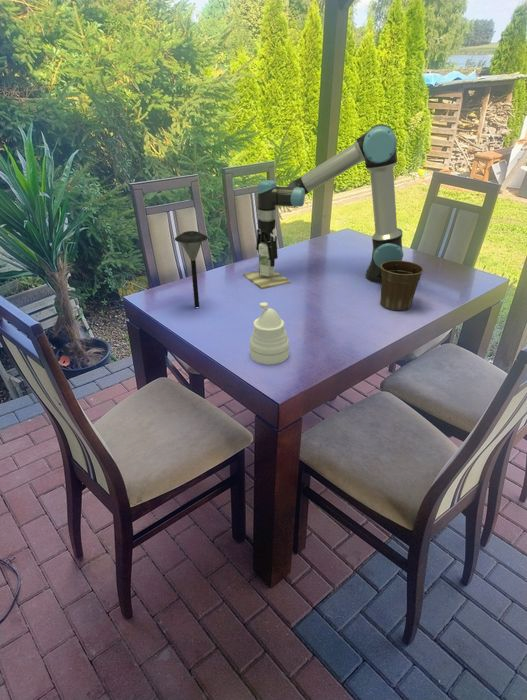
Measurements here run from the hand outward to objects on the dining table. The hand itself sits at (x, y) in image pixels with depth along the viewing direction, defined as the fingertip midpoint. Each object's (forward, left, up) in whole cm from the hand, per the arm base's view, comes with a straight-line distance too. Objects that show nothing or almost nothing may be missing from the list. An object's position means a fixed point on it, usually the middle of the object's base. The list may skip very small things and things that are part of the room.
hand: (266, 269), depth 202 cm
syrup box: (0, 0, -2) cm, 2 cm away
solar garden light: (-13, +39, -5) cm, 41 cm away
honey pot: (-58, +31, -5) cm, 66 cm away
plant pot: (-49, -33, -5) cm, 59 cm away
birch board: (0, 0, -5) cm, 5 cm away
